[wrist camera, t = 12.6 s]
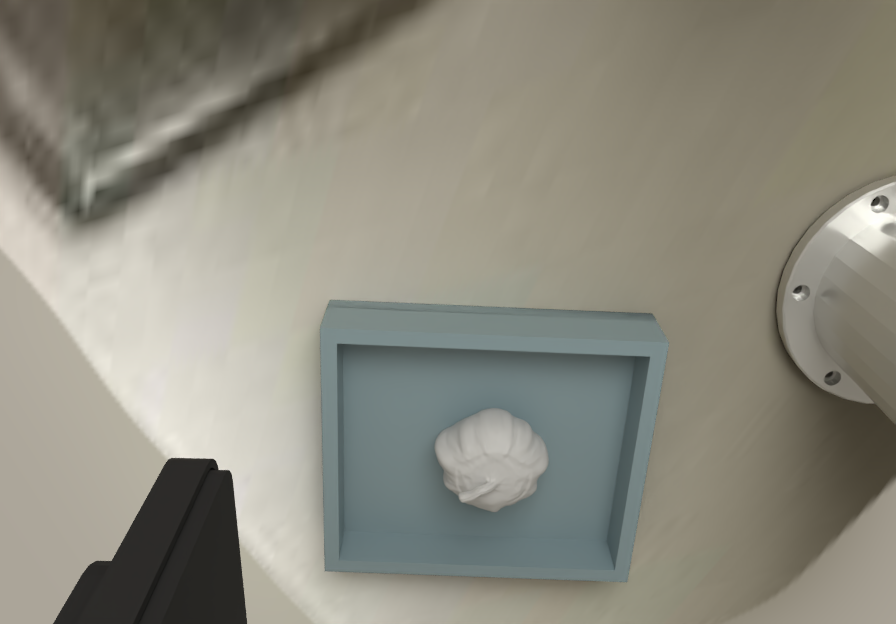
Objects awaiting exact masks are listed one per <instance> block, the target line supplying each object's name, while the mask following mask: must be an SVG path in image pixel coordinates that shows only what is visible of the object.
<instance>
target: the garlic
mask: <svg viewBox="0 0 896 624" xmlns="http://www.w3.org/2000/svg"><path fill="white" fill-rule="evenodd" d="M435 453H436V456H437V459H438V462H439V464H440V465H441V467H442V468H443V470H444V473H443V481H444V484H445V486H446V487H447V488H448V489H449V490H451V491H453V492H454V493H455V494H457V495H458V496H459V500H460V501H461V502H462V503H466V504H469V505H474V506H476V507H478V508H481V509H484V510H488V511H491V512H497V511H499V510H500V509H501V508H503V507H505V506H510V505H513V504H515V503H516V502H518V501H520V500H522V499H524V498H527V497H529V496H530V495H532V494H533V493H534V492H535V491H536V489H537V480H538V478H539V476H540V475H542V474H543V473H544V472H545V470H546V468H547V466H548V462H549V457H548V451H547V448H546V445H545V443H544V441H543V440H542V438H541V437H540V436H539V435H538V434H536V433H535V432H533V431H532V429H531V426H530V425H529V424H528V423H527V422H526V421H524V420H522V419H519V418H516V417H514V416H512V415H511V414H510V413H509V412H508V411H506V410H502V409H499V408H489V409H484V410H481V411H479V412H478V413H476V414H474V415H471V416H469V417H467V418H464V419H462V420H460V421H458V422H457V423H455V424H454V425H452V426H451V427H448V428H446V429H444V430H443V431H442V432H440V434H439V435H438V436H437V438H436V441H435Z"/></svg>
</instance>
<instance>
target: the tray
mask: <svg viewBox="0 0 896 624" xmlns="http://www.w3.org/2000/svg"><path fill="white" fill-rule="evenodd" d="M668 346H669V342H668V340H667V338H666V336H665V335H664V333H663V331H662V330H661V328H660V326H659V324H658V323H657V321H656V319H655V317H654V316H653V314H647V313H624V312H601V311H577V310H554V309H530V308H507V307H483V306H460V305H437V304H413V303H390V302H366V301H343V300H330V301H329V304H328V307H327V309H326V312H325V315H324V318H323V321H322V324H321V327H320V352H321V403H322V454H323V504H324V555H325V571H335V572H363V573H390V574H418V575H445V576H473V577H500V578H528V579H555V580H583V581H610V582H627V580H628V574H629V569H630V563H631V557H632V552H633V546H634V540H635V534H636V529H637V523H638V517H639V512H640V506H641V500H642V495H643V489H644V483H645V477H646V472H647V466H648V460H649V455H650V449H651V443H652V437H653V432H654V426H655V420H656V415H657V409H658V403H659V398H660V392H661V386H662V380H663V375H664V369H665V363H666V358H667V352H668ZM489 408H499V409H502V410H506V411H508V412H509V413H510V414H511V415H512V416H514V417H516V418H519V419H522V420H524V421H526V422H527V423H528V424H529V425H530V426H531V429H532V431H533V432H535V433H536V434H538V435H539V436H540V437H541V438H542V440H543V441H544V443H545V445H546V448H547V451H548V457H549V462H548V466H547V468H546V470H545V472H544V473H543V474H542V475H540V476H539V478H538V480H537V489H536V491H535V492H534V493H533V494H532V495H530V496H529V497H527V498H524V499H522V500H520V501H518V502H516V503H515V504H513V505H510V506H505V507H503V508H501V509H500V510H499V511H497V512H491V511H488V510H484V509H481V508H478V507H476V506H474V505H469V504H466V503H462V502H461V501H460V500H459V496H458V495H457V494H455V493H454V492H453V491H451V490H449V489H448V488H447V487H446V486H445V484H444V481H443V473H444V470H443V468H442V467H441V465H440V464H439V462H438V459H437V456H436V453H435V441H436V438H437V436H438V435H439V434H440V432H442V431H443V430H444V429H446V428H448V427H451V426H452V425H454V424H455V423H457V422H458V421H460V420H462V419H464V418H467V417H469V416H471V415H474V414H476V413H478V412H479V411H481V410H484V409H489Z"/></svg>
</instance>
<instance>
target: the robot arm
mask: <svg viewBox="0 0 896 624" xmlns="http://www.w3.org/2000/svg"><path fill="white" fill-rule="evenodd" d="M874 198H875V201H874V202H873V203H871V202H872V201H873V199H874ZM796 287H798V288H797V289H796V290H794V289H795V288H796ZM776 314H777V321H778V328H779V333H780V336H781V338H782V341H783V344H784V346H785V349H786V351H787V352H788V354H789V355H790V357H791V358H792V359H793V361H794V362H795V364H796V365H797V366H798V368H799V369H800V370H801V371H802V372H803V373H804V374H805V375H806V376H807V377H808V378H809V379H810V380H811V381H812V382H813V383H815V384H816V385H817V386H819V387H820V388H821V389H823V390H825V391H827V392H829V393H831V394H833V395H836V396H838V397H840V398H843V399H846V400H850V401H855V402H859V403H864V404H876V405H877V406H878V407H879V408H880V409H881V410H882V411H883V412H884V414H885V415H886V416H887V417H888V418H889V419H890V420H891V421H892V422H893V423H894V424H895V425H896V175H894V176H891V177H888V178H885V179H882V180H879V181H876V182H872V183H870V184H868V185H866V186H865V187H863V188H861V189H859V190H857V191H855V192H853V193H851V194H849V195H847V196H846V197H845V198H843V199H842V200H840V201H839V202H838V203H836V204H835V205H833V206H832V207H831V208H829V209H828V210H827V211H826V212H825V213H824V214H823V215H822V216H821V217H820V218H819V219H818V220H817V221H816V222H815V223H814V224H813V225H812V226H811V227H810V228H809V229H808V230H807V232H806V233H805V234H804V236H803V237H802V238H801V240H800V241H799V243H798V244H797V245H796V247H795V248H794V250H793V252H792V254H791V256H790V258H789V260H788V262H787V264H786V266H785V268H784V271H783V275H782V278H781V282H780V285H779V289H778V296H777V309H776ZM53 624H247V618H246V608H245V598H244V588H243V578H242V569H241V558H240V548H239V538H238V528H237V518H236V508H235V498H234V489H233V479H232V475H231V472H230V471H229V470H218V465H217V463H216V461H215V460H214V459H193V458H171V459H169V460H168V461H167V462H166V464H165V465H164V467H163V469H162V471H161V473H160V474H159V476H158V478H157V480H156V482H155V484H154V485H153V487H152V489H151V491H150V493H149V494H148V496H147V498H146V500H145V502H144V504H143V505H142V507H141V509H140V511H139V512H138V514H137V516H136V518H135V520H134V521H133V523H132V525H131V527H130V529H129V531H128V532H127V534H126V536H125V538H124V540H123V541H122V543H121V545H120V547H119V549H118V550H117V552H116V554H115V556H114V558H113V559H112V561H95V562H94V563H92V564H90V565H89V566H88V568H87V569H86V570H85V571H84V573H83V574H82V576H81V577H80V579H79V581H78V582H77V584H76V586H75V588H74V590H73V591H72V593H71V594H70V596H69V598H68V599H67V601H66V603H65V605H64V606H63V608H62V610H61V611H60V613H59V615H58V616H57V618H56V620H55V622H54V623H53Z"/></svg>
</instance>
